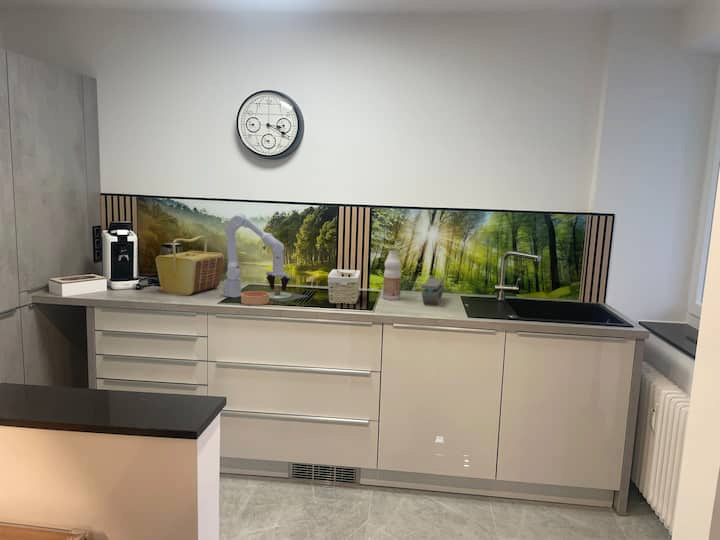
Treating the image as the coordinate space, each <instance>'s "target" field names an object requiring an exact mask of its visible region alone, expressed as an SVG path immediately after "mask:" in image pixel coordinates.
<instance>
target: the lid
mask: <svg viewBox="0 0 720 540" xmlns="http://www.w3.org/2000/svg"><path fill="white" fill-rule="evenodd" d="M273 290H274V291H270V292H271V293H269V292H268V293H269V298H270V299H284V298H289V297H291V294H290V293H291V292H289V293H285V292H286V291H283V292H280V291H281V285H278V284H274V289H273Z"/></svg>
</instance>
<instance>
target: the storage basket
mask: <svg viewBox="0 0 720 540" xmlns="http://www.w3.org/2000/svg"><path fill="white" fill-rule="evenodd" d="M342 275H343V276H342ZM344 275H346V276H344ZM347 275H348V276H347ZM349 275H350V276H349ZM360 280H361V271H360V270H359V269H358V270H356V269H340V268H339V269H335V268H333V269H331V271H330V272H329V273H328V276H327V284H328V285H327V286H328V287H327V288H328V301H329V303H330V304H341V303H343V304H344V303H345V305H348V304H349V305H355V304H357V302H358V300H359V295H360Z"/></svg>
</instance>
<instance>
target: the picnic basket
mask: <svg viewBox="0 0 720 540" xmlns="http://www.w3.org/2000/svg"><path fill="white" fill-rule="evenodd" d="M201 238H203V239H204V245H203V249H204V250H203V251H201V250H200V251H199V250H188V251H183V252H176V242H178V241H182V242H184V243H192V242H195V241H196V242H197V240H199V239H201ZM207 243H208V239H207V237H206V236H205V235H198V236H195V237H193V238H191V239H190V238H189V239H187V238H176V239H174V240H173V241H172V254H171V253H170V254H165V255H158V256H156V257H155V265H156V270H157V274H158V278H159V283H160V288H161V290H162V291H163V292H164V293H167V294H173V295H180V296H181V295H182V296H190V295H193V294H195V293H199V292H203V291H207V290H210V289H217V288H218V287H219V286H220V284H221V278H222V272H223V268H224V262H225V256H224V254H223V253H221V252H212V251H207V250H208V249H207V248H208V246H207V245H208V244H207Z"/></svg>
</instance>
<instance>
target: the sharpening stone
mask: <svg viewBox="0 0 720 540" xmlns="http://www.w3.org/2000/svg"><path fill="white" fill-rule="evenodd" d="M444 282H445V279H444V278H437V277H436V278H434V277H430V278H428V279H427V280H426V281H425V282H424V283H423V284H422V285H421V287H422V288H421V289H423V290H422V292H421V297H422V303H423V304H426V305H427V304H429V305H436V306H437V305H439V304H440V303H441V301H442V297H443V291H444V284H443V283H444Z"/></svg>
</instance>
